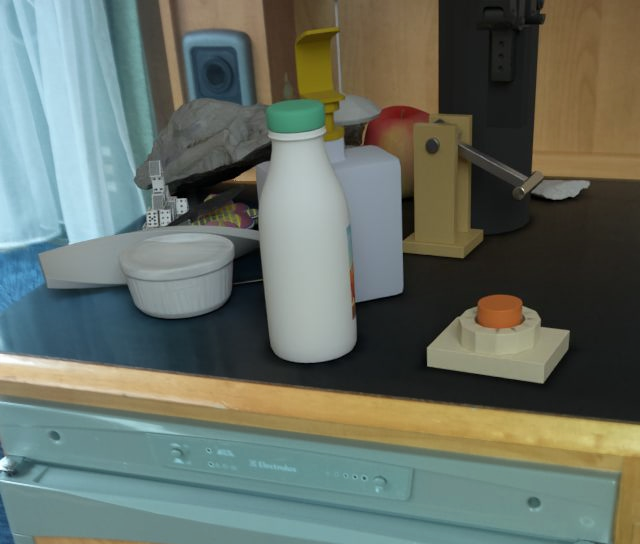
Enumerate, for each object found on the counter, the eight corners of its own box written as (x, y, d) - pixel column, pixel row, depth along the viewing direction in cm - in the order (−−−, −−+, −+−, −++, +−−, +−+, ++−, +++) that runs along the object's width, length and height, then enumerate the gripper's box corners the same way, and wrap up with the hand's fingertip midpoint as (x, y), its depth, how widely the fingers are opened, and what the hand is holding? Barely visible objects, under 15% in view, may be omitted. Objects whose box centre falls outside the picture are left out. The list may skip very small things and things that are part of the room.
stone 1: (265, 157, 109) (252, 57, 106) (115, 199, 128) (101, 115, 125) (356, 158, 119) (346, 66, 116) (204, 196, 138) (192, 119, 136)
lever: (537, 191, 103) (548, 169, 102) (519, 208, 99) (529, 186, 97) (437, 136, 105) (446, 113, 103) (415, 150, 101) (424, 128, 99)
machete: (247, 186, 112) (250, 192, 113) (237, 177, 114) (239, 182, 115) (133, 257, 111) (136, 262, 112) (125, 246, 113) (128, 251, 114)
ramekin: (234, 276, 105) (228, 225, 102) (246, 315, 96) (240, 260, 93) (127, 290, 104) (117, 239, 101) (128, 331, 95) (118, 276, 92)
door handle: (303, 255, 106) (290, 264, 110) (294, 206, 105) (282, 216, 110) (49, 293, 99) (47, 300, 103) (37, 240, 98) (36, 249, 103)
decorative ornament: (272, 233, 108) (181, 254, 108) (275, 252, 110) (186, 273, 109) (250, 181, 121) (169, 200, 120) (253, 199, 122) (173, 217, 122)
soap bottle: (286, 318, 94) (260, 41, 81) (266, 295, 100) (238, 31, 86) (406, 295, 97) (400, 22, 83) (380, 274, 102) (371, 14, 89)
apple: (348, 199, 124) (344, 112, 118) (401, 181, 129) (399, 97, 123) (405, 213, 118) (403, 122, 112) (458, 193, 123) (459, 105, 117)
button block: (568, 349, 85) (571, 309, 83) (543, 383, 80) (545, 342, 78) (457, 334, 89) (457, 296, 87) (426, 366, 84) (426, 327, 82)
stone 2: (522, 189, 122) (523, 172, 121) (584, 185, 122) (586, 168, 120) (528, 208, 118) (529, 191, 117) (592, 203, 118) (594, 186, 116)
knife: (209, 290, 103) (208, 287, 103) (208, 285, 104) (208, 282, 104) (305, 278, 103) (304, 275, 103) (303, 273, 104) (303, 270, 104)
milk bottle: (350, 366, 85) (336, 113, 74) (262, 365, 87) (234, 117, 75) (363, 329, 91) (351, 91, 80) (280, 329, 93) (257, 95, 81)
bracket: (483, 240, 109) (486, 114, 101) (463, 258, 105) (465, 128, 97) (423, 235, 112) (422, 111, 104) (401, 252, 108) (398, 125, 100)
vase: (529, 235, 109) (546, -94, 92) (435, 236, 111) (435, -86, 93) (528, 206, 117) (544, -101, 100) (441, 208, 119) (442, -94, 102)
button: (527, 317, 83) (528, 296, 82) (513, 333, 81) (514, 313, 80) (486, 312, 85) (486, 292, 84) (470, 328, 82) (471, 308, 81)
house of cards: (215, 238, 115) (205, 169, 111) (140, 243, 116) (128, 174, 111) (222, 215, 123) (214, 148, 118) (152, 219, 123) (141, 153, 119)
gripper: (501, -272, 68) (489, 104, 82) (425, -280, 59) (426, 144, 73) (612, -285, 65) (580, 108, 79) (550, -297, 56) (526, 150, 70)
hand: (506, 125), depth 76 cm, fingers closed
